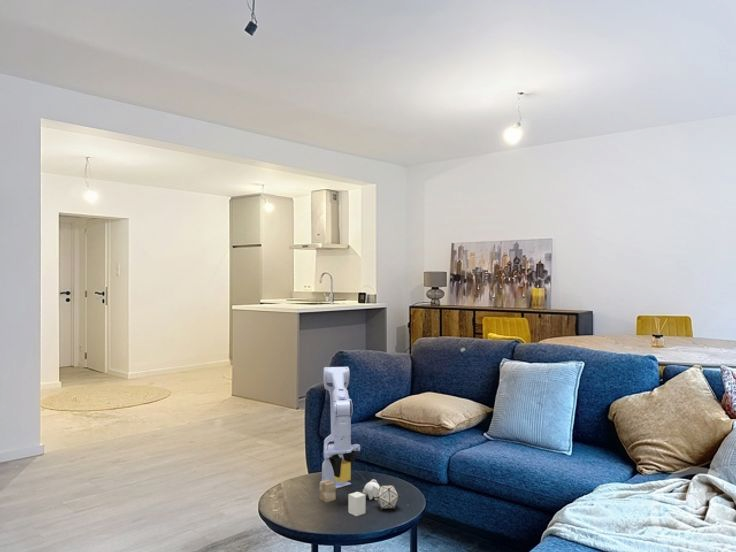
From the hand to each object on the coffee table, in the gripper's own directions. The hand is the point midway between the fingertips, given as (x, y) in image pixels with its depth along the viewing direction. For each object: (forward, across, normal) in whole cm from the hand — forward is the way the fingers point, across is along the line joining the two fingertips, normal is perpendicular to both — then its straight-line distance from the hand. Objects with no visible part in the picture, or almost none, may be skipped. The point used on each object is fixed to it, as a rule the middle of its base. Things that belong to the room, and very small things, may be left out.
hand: (342, 475), depth 194 cm
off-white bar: (+10, -1, -9) cm, 13 cm away
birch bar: (+10, -1, +7) cm, 12 cm away
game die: (+10, +9, -13) cm, 19 cm away
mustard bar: (+2, 0, 0) cm, 2 cm away
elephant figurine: (+10, +12, -3) cm, 16 cm away
